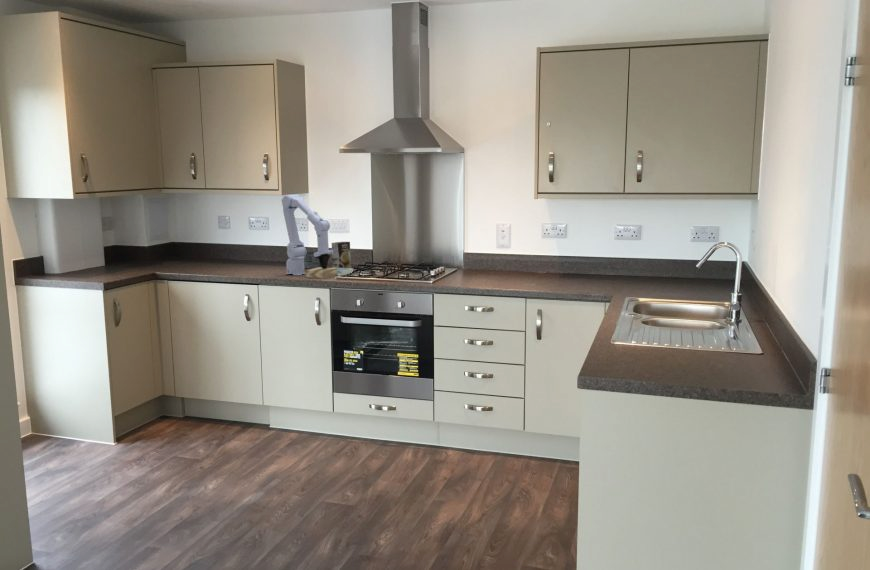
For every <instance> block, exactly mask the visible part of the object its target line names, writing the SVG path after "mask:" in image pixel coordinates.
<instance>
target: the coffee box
mask: <svg viewBox="0 0 870 570" xmlns="http://www.w3.org/2000/svg"><path fill="white" fill-rule="evenodd" d="M331 250H333V254H331V259H332V260H331V261H332V265H331V266H332V268H352V261H351V242H350V241H337V242H331Z"/></svg>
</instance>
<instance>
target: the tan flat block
mask: <svg viewBox="0 0 870 570" xmlns="http://www.w3.org/2000/svg"><path fill="white" fill-rule="evenodd" d="M305 273H306V274H305V278H308V277H311V279H312V278H313V279H329V278H334V277H338V270H337V268H333V267H327V268H326V269H322V268H321V267H318V268H313V269H305Z"/></svg>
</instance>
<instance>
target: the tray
mask: <svg viewBox="0 0 870 570" xmlns="http://www.w3.org/2000/svg"><path fill="white" fill-rule="evenodd" d="M337 269H343V270H344V271H341V274H338V276H339V277H340V276H341V277H343V276H347V274H348V275H351V274H350V273H352V272H353V271H354V272H355V268H352V267H351V268H337ZM352 274H353V273H352ZM338 276H337V277H338Z"/></svg>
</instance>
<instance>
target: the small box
mask: <svg viewBox="0 0 870 570" xmlns="http://www.w3.org/2000/svg"><path fill="white" fill-rule="evenodd" d="M315 252H318V250H306V255H305V258H304V270H308V269H313V268H318V267H321V263H320V261H319V259H318V258H317V257H314V253H315ZM321 268H322V267H321Z"/></svg>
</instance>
